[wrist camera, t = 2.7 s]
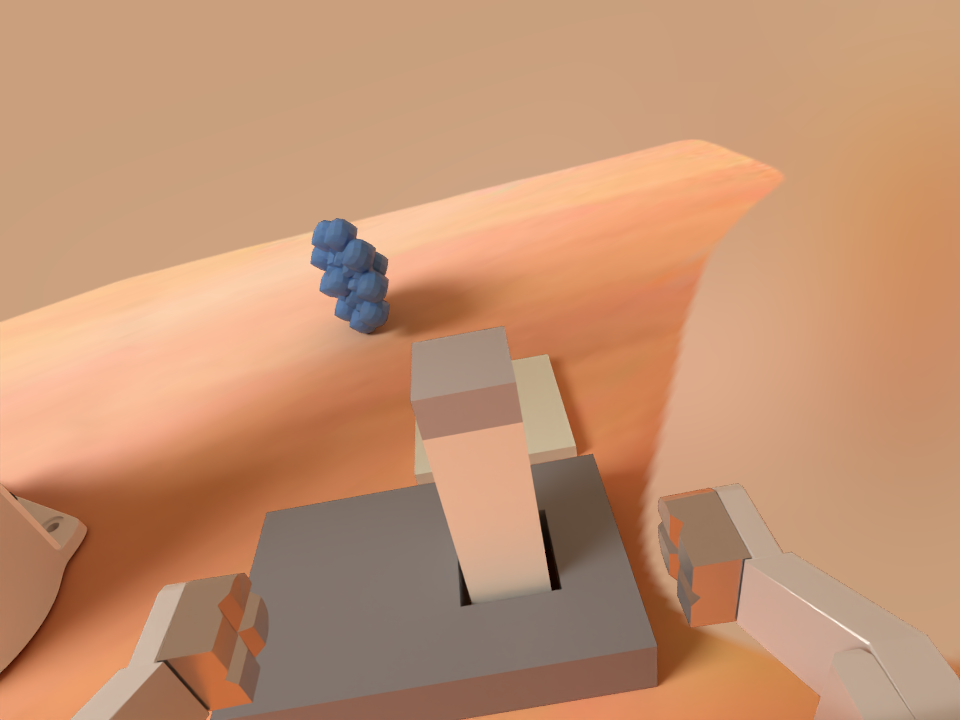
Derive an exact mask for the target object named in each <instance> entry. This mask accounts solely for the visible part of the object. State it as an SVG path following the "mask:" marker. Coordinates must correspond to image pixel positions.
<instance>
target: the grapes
mask: <svg viewBox="0 0 960 720" xmlns="http://www.w3.org/2000/svg"><path fill="white" fill-rule="evenodd" d="M356 236H357V228H356V227H355V226H354V225H353V224H351V223H349V222H347V221H346V220H344V219H338V218H336V219H335V220H333V221H326V220H323V221H321V222H319V223H318V225H317V227H316V228H315V230H314V233H313V238H312V245H314V246H315V247H314V249H313V251H312V256H311V264H312V265H314V266H315V267H317V268H319V269H321V270H324V271H326V272H325V273H324V275H323V277H322V279H321V284H320V291H321V292H322V293H324V294H326V295H328V296H330V297H335V298H338V300H337V304H336V308H335V316H337V317H339V318H340V319H342V320H344V321H350V327H351V328H352V329H354V330H356V331H358V332H361V333H370V332H373V331H374V330H375V328H376V327H379V326H382V325H384V323H385V322H386V320H387V318H388V314H389V303H387V302H386V301H384V300H383V299H384V298H385V296H386V293H387V289H388V281H389V279H388V278H386V277H385V274H386V271H387V266H388V259H387V258H386V257H385V256H383V255H381V254H380V253H378V252H375V251H376V248H375V247H373V246H372V245H371V244H369V243H367V242H366V241H364V240H361V239H356Z"/></svg>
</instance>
